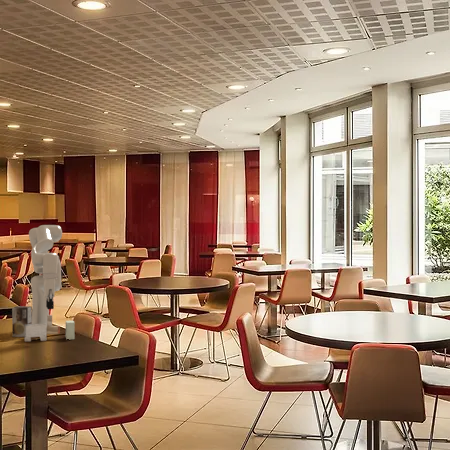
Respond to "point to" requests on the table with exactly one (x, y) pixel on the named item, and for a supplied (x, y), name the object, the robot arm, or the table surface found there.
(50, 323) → the inner bar
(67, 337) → the socket block
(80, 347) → the table surface
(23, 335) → the coffee box
